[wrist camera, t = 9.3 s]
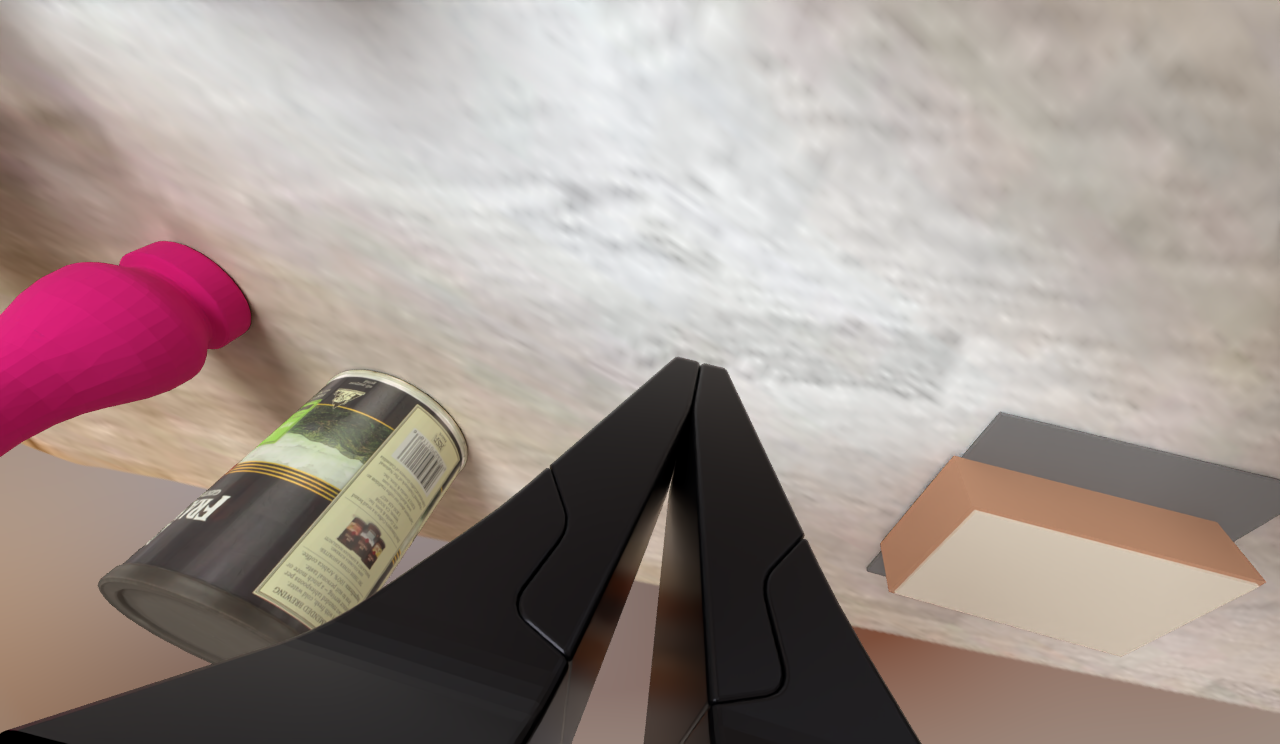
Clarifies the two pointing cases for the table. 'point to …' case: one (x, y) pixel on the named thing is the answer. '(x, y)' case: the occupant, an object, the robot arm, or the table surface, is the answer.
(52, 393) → the pepper mill
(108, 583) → the coffee can
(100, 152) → the table surface
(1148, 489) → the placemat
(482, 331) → the table surface
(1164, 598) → the beige rectangular block
